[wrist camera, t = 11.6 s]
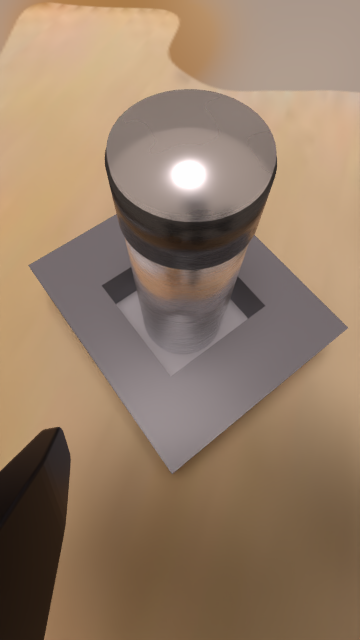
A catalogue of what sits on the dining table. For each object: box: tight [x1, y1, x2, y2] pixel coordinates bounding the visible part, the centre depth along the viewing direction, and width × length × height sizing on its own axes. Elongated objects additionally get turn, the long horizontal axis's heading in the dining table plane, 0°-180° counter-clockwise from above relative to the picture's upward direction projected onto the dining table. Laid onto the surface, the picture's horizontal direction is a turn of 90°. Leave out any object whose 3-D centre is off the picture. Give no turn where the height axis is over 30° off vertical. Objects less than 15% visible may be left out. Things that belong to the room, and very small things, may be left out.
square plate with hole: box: [28, 214, 348, 474], centre depth 21 cm, size 14×12×4 cm
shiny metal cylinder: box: [105, 89, 277, 354], centre depth 16 cm, size 5×5×13 cm
